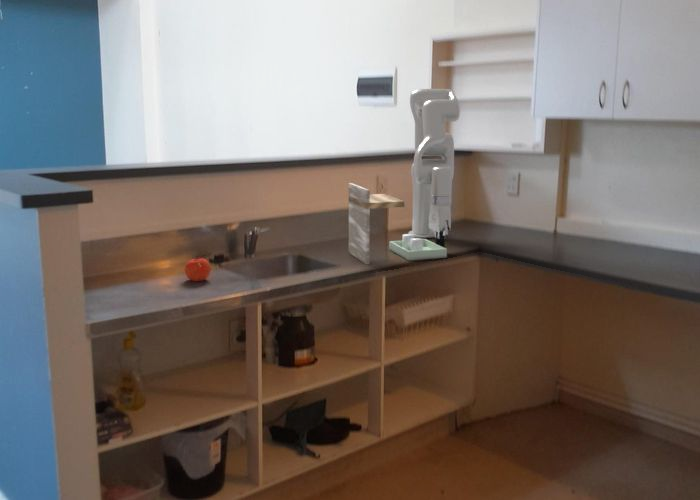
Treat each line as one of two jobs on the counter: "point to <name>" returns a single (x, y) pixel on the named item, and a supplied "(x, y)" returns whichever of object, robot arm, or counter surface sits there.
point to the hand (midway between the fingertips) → (439, 248)
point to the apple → (197, 269)
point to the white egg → (416, 244)
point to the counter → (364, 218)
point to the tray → (419, 251)
